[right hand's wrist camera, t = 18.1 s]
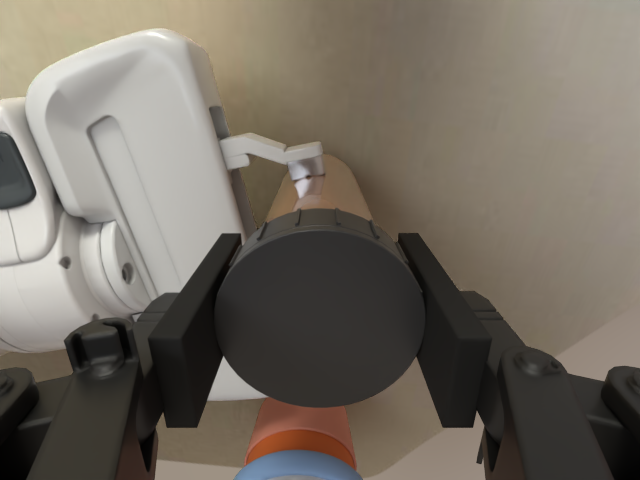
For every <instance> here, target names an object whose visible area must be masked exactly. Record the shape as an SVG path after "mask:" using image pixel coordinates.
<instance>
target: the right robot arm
mask: <svg viewBox="0 0 640 480" xmlns="http://www.w3.org/2000/svg"><path fill="white" fill-rule="evenodd" d="M398 243H399V245H400V247H401V249H402V251H403V253H404V254H405V256H406V258H407V260H408V262H409V263H407V264H408V266H409V268H410V270H411V271H412V272H413V274H414V276H415V278H416V280H417V282H418V284H419V286H420V288H421V290H422V292H423V295H422V296H423V299H424V304H425V310H426V324H425V332H424V337H423V340H422V344H421V347H420V349H419V351H418V353H417V359H418V362H419V365H420V367H421V370H422V373H423V375H424V378H425V381H426V383H427V386H428V389H429V392H430V394H431V397H432V400H433V402H434V405H435V408H436V411H437V413H438V416H439V419H440V421H441V424H442V427H443V428H473V425H474V420H475V416H476V411H478V413H479V415H480V417H481V419H482V421H483V423H484V425H485V426H484V431H483V435H482V439H481V443H480V447H479V452H478V456H477V463H479V464H481V463H482V459H484V468H485V478H486V480H640V368H635V367H629V366H618V367H614V368H612V369H611V370H609V371H608V374H607V377H606V379H605V382H604V381H599V380H595V379H590V378H585V377H581V376H576V375H572V374H568V373H567V371H566V370H565V368H564V367H563V365H562V364H561V363H560V362H559V361H557V360H556V359H555V358H554V357H552V356H551V355H549V354H547V353H545V352H543V351H541V350H538V349H534V348H531V347H527V346H526V345H525V344H524V343H523V342H522V340H521V339H520V338H519V337H518V336H517V334H516V333H515V332H514V331H513V330H512V328H511V327H510V326H509V325H508V323H507V322H506V321H505V320H503V317H502V316H501V315H500V314H499V313H498V312H496V309H495V308H494V306H493V305H492V304H491V303H490V302H489V300H487V299H486V298H484V297H483V296H481V295H480V294H478V293H476V292H475V291H459V290H458V289H457V288H456V286H455V285H454V283H453V282H452V280H451V279H450V278H449V276H448V275H447V273H446V272H445V271H444V269H443V268H442V266H441V265H440V264H439V262H438V261H437V259H436V258H435V257H434V255H433V254H432V252H431V251H430V249H429V248H428V247H427V245H426V244H425V242H424V241H423V240H422V238H421V237H420V235H419V234H418V233H399V235H398ZM240 244H241V245H242V238H241V233H222V234H221V235H220V236H219V238H218V239H217V241H216V242H215V244H214V245H213V246H212V248H211V249H210V251H209V252H208V253H207V255H206V256H205V258H204V259H203V260H202V262H201V263H200V265H199V266H198V267H197V269H196V270H195V272H194V273H193V275H192V276H191V277H190V279H189V280H188V282H187V283H186V284H185V286H184V287H183V289H182V290H181V291H180V292H165V293H164V294H162V295H161V296H159V297H157V298H156V299H154V300H153V301H152V302H151V303H150V304H149V305H148V306H147V308H146V309H145V310H144V313H142V314H141V315H140V316H139V317H138V319H137V322H134V324H133V325H132V323H131V322H129V321H128V320H127V319H123V318H118V317H113V318H103V319H99V320H95V321H92V322H89V323H87V324H85V325H82V326H80V327H78V328H77V329H75V330H74V331H72V332H71V333H70V334H69V335H68V336H67V337H66V338H65V339H64V344H65V347H66V350H67V353H68V356H69V359H70V362H71V365H72V368H73V374H72V375H70V376H66V377H62V378H57V379H53V380H48V381H43V382H39V383H35V380H34V377H33V375H32V372H30V371H29V370H27V369H26V368H16V367H15V368H9V369H3V370H0V480H154V479H155V469H156V460H157V450H158V435H157V430H156V425H157V423H158V421H159V419H160V417H161V415H162V413H163V412H164V417H165V422H166V426H167V428H197V426H198V423H199V421H200V418H201V415H202V413H203V410H204V407H205V405H206V402H207V399H208V396H209V394H210V391H211V388H212V386H213V383H214V380H215V377H216V375H217V372H218V369H219V367H220V364H221V361H222V359H223V354H222V352H221V350H220V348H219V345H218V342H217V338H216V334H215V326H214V308H215V302H216V295H217V293H218V291H219V289H220V287H221V285H222V283H223V281H224V279H225V277H226V275H227V273H228V271H229V269H230V267H231V266H229V264H230V262H231V260H232V258H233V257H234V255H235V253H236V251H237V249H238V247H239V246H240Z"/></svg>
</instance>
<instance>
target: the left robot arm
mask: <svg viewBox="0 0 640 480" xmlns="http://www.w3.org/2000/svg"><path fill="white" fill-rule="evenodd" d="M257 156H258V157H261V158H265V159H268V160H271V161H274V162H277V163H280V164H284V165H288V169H289V173H290V177H291V181H296V180H301V179H304V178H306V177H307V176H308V175H310V176H312V177H314V176H320V175H323V174H325V173H326V167H325V161H324V155H323V150H322V145H321V141H319V142H311V143H306V144H301V145H296V146H291V147H287V145H286V144H283V143H280V142H277V141H274V140H271V139H268V138H266V137H263V136H260V135H257V134H254V133H246V134H241V135H236V136H231V134H230V131H229V127H228V123H227V120H226V116H225V113H224V109H223V106H222V102H221V98H220V95H219V91H218V88H217V84H216V81H215V77H214V74H213V70H212V66H211V63H210V59H209V56H208V54H207V52H206V50H205V49H204V48H203V47H202V46H200V45H199V44H197V43H196V42H194V41H193V40H191V39H190V38H188V37H186V36H184V35H183V34H181V33H179V32H176V31H173V30H169V29H165V28H154V29H148V30H143V31H139V32H135V33H131V34H128V35H125V36H121V37H118V38H115V39H112V40H109V41H106V42H103V43H100V44H98V45H95V46H92V47H90V48H87V49H84V50H82V51H79V52H77V53H75V54H73V55H70V56H68V57H66V58H64V59H61V60H59V61H57V62H55V63H53V64H52V65H50V66H48V67H47V68H45V69H44V70H43V71H41V72H40V73H39V74H38V75H37V76H36V77H35V78H34V80H33V81H32V83H31V84H30V86H29V88H28V91H27V94H26V97H16V98H7V99H1V100H0V356H3V355H5V354H7V353H9V352H11V351H12V352H20V353H44V352H50V351H56V350H62V349H66V347H65V344H64V339H65V338H66V337H67V336H68V335H69V334H70V333H71V332H72V331H74V330H75V329H77V328H78V327H80V326H82V325H85V324H87V323H89V322H92V321H95V320H99V319H103V318H113V317H118V318H123V319H127V320H128V321H129V322H131V323H132V325H133V324H134V322H137V319H138V317H139V316H140V315H141V314H142V313H144V310H145V309H146V308H147V306H148V305H149V304H150V303H151V302H152V301H153V300H154V299H156V298H157V297H159V296H161V295H162V294H164V293H165V292H180V291H181V290H182V289H183V287H184V286H185V284H186V283H187V282H188V280H189V279H190V277H191V276H192V275H193V273H194V272H195V270H196V269H197V267H198V266H199V265H200V263H201V262H202V260H203V259H204V258H205V256H206V255H207V253H208V252H209V251H210V249H211V248H212V246H213V245H214V244H215V242H216V241H217V239H218V238H219V236H220V235H221V234H222V233H241V238H242V246H243V245H244V243H245V242H246V241H247V239H248V238H249V237H250V236H251V235H252V234H253V233H254V232H255V231H257V227H256V223H255V220H254V216H253V213H252V209H251V206H250V202H249V198H248V195H247V191H246V188H245V184H244V181H243V177H242V173H241V170H240V168H242V167H246V166H249V165H250V164H251V163H252V162H253V161H254V160H255V159H256V157H257ZM267 397H268V396H266V395H264V394H262V393H260V392H259V391H257V390H255V389H254V388H252V387H251V386H250V385H248V384H247V383H246V382H245V381H243V380H242V379H241V378H240V377H239V376H238V375H237V374H236V373H235V372H234V370H233V369H232V368H231V367H230V365H229V364H228V362H227V361H226V359H225V358H224V356H223V359H222V361H221V364H220V367H219V369H218V372H217V375H216V377H215V380H214V383H213V386H212V388H211V391H210V394H209V396H208V399H207V401H230V400H248V399H259V398H267Z"/></svg>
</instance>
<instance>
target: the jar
mask: <svg viewBox="0 0 640 480" xmlns="http://www.w3.org/2000/svg"><path fill="white" fill-rule="evenodd" d="M323 155H324V161H325V167H326V173H325V174H323V175H320V176H314V177H312V176H310V175H308V176H307V177H306V178H304V179H301V180H296V181H291V177H290V173H289V169H288V171H287V172H286V174H285V176H284V178H283V181H282V183H281V185H280V188H279V190H278V192H277V194H276V197H275V199H274V201H273V204H272V206H271V208H270V210H269V213H268V215H267V217H266V219H265V221H266V222H267V223H268V222H270V221H272V220H273V219H275V218H277V217H280V216H282V215H285V214H287V213H291V212H295V211H297V209H298V208H301V210H304V209H312V208H327V209H335V207H336V208H339V210H341V211H345V212H349V213H352V214H355V215H357V216H360V217H363V218H365V219H366V220H368V221H370V219H371V220H373V221H374V219H373V217H372V215H371V213H370V210H369V208H368V206H367V203H366V201H365V199H364V197H363V194H362V192H361V190H360V187H359V185H358V183H357V181H356V178H355V176H354V174H353V172H352V171H351V169H350V168H349V167H348V166H347V165H346V164H345V163H344V162H343V161H342V160H340V159H338V158H336V157H334V156H331V155H328V154H323ZM374 224H375V222H374ZM375 225H376V224H375Z"/></svg>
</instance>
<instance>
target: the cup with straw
mask: <svg viewBox="0 0 640 480" xmlns="http://www.w3.org/2000/svg"><path fill="white" fill-rule="evenodd" d="M356 467H357V465H356V459H355V454H354V449H353V444H352V439H351V433H350V428H349V423H348V418H347V413H346V410H345V407H344V406H339V407H329V408H311V407H301V406H296V405H291V404H287V403H284V402H280V401H277V400H275V399H273V398H270V397H267V398H266V399H265V401H264V402H263V404H262V406H261V408H260V411H259V414H258V417H257V421H256V424H255V427H254V430H253V434H252V437H251V440H250V443H249V447H248V450H247V453H246V457H245V461H244V468H243V469H242V470H240V472H239V473H238V474H237V475H236V476H235V478H234V480H363V479H362V478H361V476H360V475H359V474H358V473H357V472H356Z"/></svg>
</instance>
